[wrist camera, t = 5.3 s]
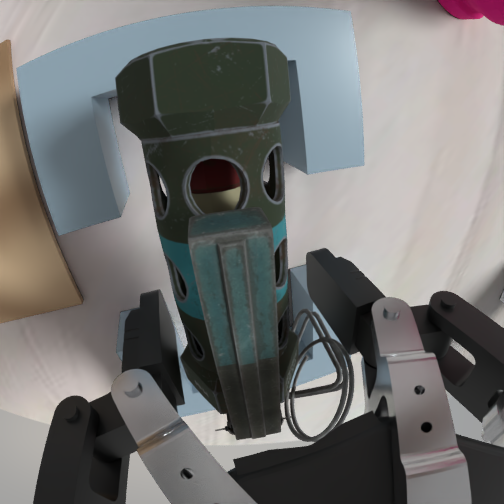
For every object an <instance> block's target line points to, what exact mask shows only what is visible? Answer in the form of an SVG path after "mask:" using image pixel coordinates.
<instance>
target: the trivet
mask: <svg viewBox="0 0 504 504" xmlns="http://www.w3.org/2000/svg"><path fill="white" fill-rule="evenodd" d="M82 303H83V298H82V296H81V294H80V292H79V290H78V288H77V286H76V284H75V281H74V279H73V277H72V275H71V273H70V271H69V269H68V266H67V264H66V262H65V259H64V257H63V255H62V252H61V250H60V248H59V245H58V243H57V240H56V238H55V235H54V233H53V230H52V228H51V225H50V222H49V220H48V217H47V214H46V211H45V208H44V205H43V203H42V200H41V196H40V193H39V190H38V187H37V184H36V181H35V177H34V174H33V170H32V167H31V163H30V159H29V156H28V152H27V148H26V144H25V139H24V135H23V130H22V126H21V121H20V116H19V110H18V104H17V98H16V92H15V85H14V77H13V68H12V57H11V43H10V40H5V41H4V42H2V43H0V323H4V322H8V321H12V320H17V319H21V318H25V317H29V316H34V315H38V314H42V313H46V312H50V311H55V310H59V309H63V308H67V307H71V306H75V305H80V304H82Z"/></svg>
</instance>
